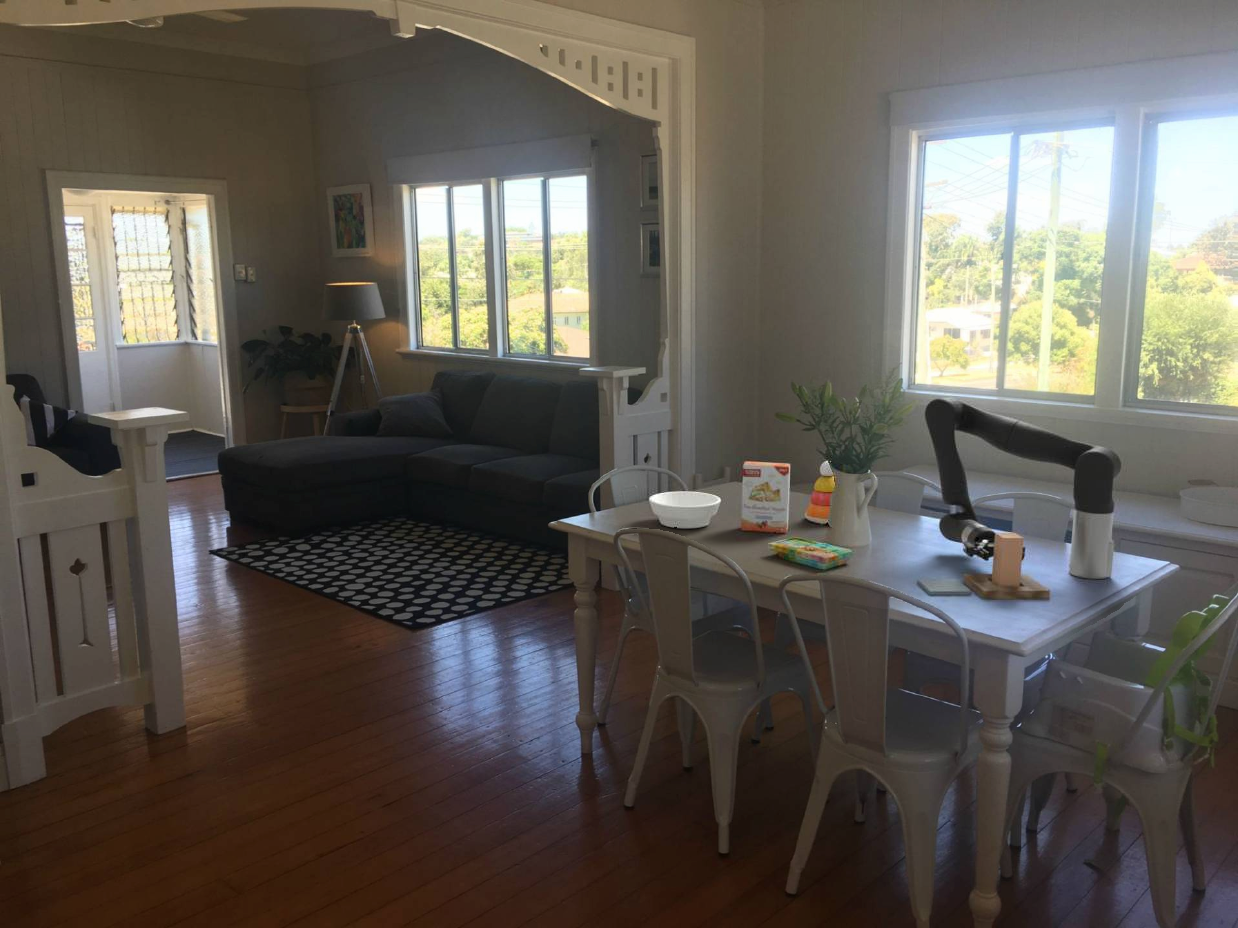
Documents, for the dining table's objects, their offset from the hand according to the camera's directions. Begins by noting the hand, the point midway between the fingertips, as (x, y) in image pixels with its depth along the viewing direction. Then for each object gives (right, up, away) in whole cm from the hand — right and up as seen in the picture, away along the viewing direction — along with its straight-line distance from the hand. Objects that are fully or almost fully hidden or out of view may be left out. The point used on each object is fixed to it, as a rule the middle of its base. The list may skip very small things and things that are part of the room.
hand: (1004, 556), depth 249 cm
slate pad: (-15, -8, +1) cm, 17 cm away
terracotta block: (0, -8, 0) cm, 8 cm away
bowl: (-75, +4, +67) cm, 100 cm away
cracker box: (-51, +2, +59) cm, 78 cm away
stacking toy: (-29, +5, +71) cm, 77 cm away
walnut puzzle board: (0, -8, 0) cm, 8 cm away
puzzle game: (-44, -4, +27) cm, 51 cm away
